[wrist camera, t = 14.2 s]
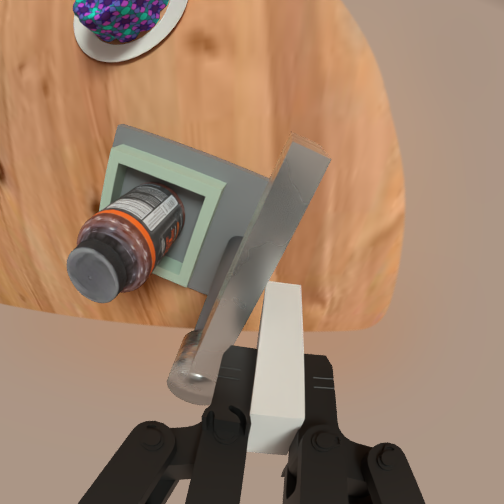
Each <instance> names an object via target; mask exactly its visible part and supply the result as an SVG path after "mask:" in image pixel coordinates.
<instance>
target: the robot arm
mask: <svg viewBox="0 0 504 504" xmlns="http://www.w3.org/2000/svg"><path fill="white" fill-rule="evenodd" d="M303 347H304V345H303V319H302V298H301V285H295V284H287V283H279V282H272V281H268V283H267V285H266V287H265V294H264V300H263V307H262V313H261V320H260V326H259V334H258V342H257V349H253V348H247V347H239V346H233V345H231V346H230V347H229V348H228V349H227V350H226V351H225V352H224V354H223V356H222V360H221V364H220V368H219V372H218V377H217V381H216V385H215V389H214V393H213V398H212V402H211V405H210V406H209V407H208V408H206V409H205V411H204V413H203V415H202V422H200V423H198V424H196V425H194V426H190V427H181V428H169V427H168V426H166V425H165V424H163V423H160V422H157V421H146V422H143V423H140V424H138V425H137V426H136V427H135V428H134V429H133V430H132V431H131V433H130V434H129V435H128V437H127V438H126V440H125V441H124V442H123V444H122V445H121V446H120V448H119V449H118V451H117V452H116V453H115V454H114V456H113V457H112V458H111V460H110V461H109V462H108V464H107V465H106V466H105V468H104V469H103V471H102V472H101V473H100V475H99V476H98V477H97V479H96V480H95V481H94V483H93V484H92V485H91V487H90V488H89V489H88V491H87V492H86V493H85V495H84V496H83V497H82V499H81V500H80V501H79V503H78V504H165V503H166V502H167V500H168V498H169V497H170V495H171V493H172V492H173V490H174V488H175V487H176V485H177V483H178V482H179V480H181V479H191V481H190V485H189V489H188V494H187V498H186V502H185V504H239V503H240V496H241V489H242V482H243V475H244V468H245V460H246V452H247V451H249V452H258V453H267V454H278V455H287V453H288V451H289V457H288V463H287V465H286V467H285V468H284V470H283V472H282V475H281V477H284V476H285V478H284V492H283V493H284V494H283V504H425V502H424V499H423V497H422V494H421V492H420V489H419V487H418V485H417V482H416V480H415V477H414V475H413V473H412V470H411V468H410V466H409V463H408V461H407V459H406V457H405V454H404V453H403V451H402V450H401V448H399V447H398V446H396V445H395V444H391V443H380V444H378V445H376V446H374V447H369V446H365V445H362V444H358V443H355V442H352V441H350V440H349V439H347V438H346V437H345V436H344V435H343V434H342V433H341V431H340V429H339V427H338V422H337V411H336V399H335V390H334V381H333V369H332V365H331V364H330V362H329V360H328V359H327V357H326V356H323V355H312V354H304V348H303Z"/></svg>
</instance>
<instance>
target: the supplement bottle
mask: <svg viewBox="0 0 504 504" xmlns="http://www.w3.org/2000/svg"><path fill="white" fill-rule="evenodd" d="M184 222H185V211H184V206H183V203H182V201H181V199H180V198H179V196H178V195H177V194H176V193H175V192H174V191H173V190H172V189H171V188H170V187H168V186H166V185H164V184H161V183H157V182H146V183H143V184H140V185H139V186H137V187H135V188H133V189H132V190H130V191H129V192H127V193H125V194H124V195H122V196H121V197H119V198H118V199H116V200H115V201H113V202H112V203H111V204H109V205H108V206H106V207H105V208H103V209H102V210H101V211H99V212H98V213H96V214H95V215H94V216H92V217H91V218H90V219H89V220H87V221H86V222H85V224H84V225H83V226H82V228H81V230H80V232H79V235H78V238H77V247H76V248H75V249H74V250H73V251H72V252H71V253H70V255H69V257H68V259H67V271H68V275H69V277H70V280H71V281H72V283H73V285H74V286H75V288H76V289H77V290H78V291H79V292H80V293H81V294H82V295H83V296H85V297H86V298H88V299H90V300H92V301H94V302H98V303H107V302H110V301H112V300H113V299H114V298H115V297H116V296H117V295H118V294H119V293H120V292H121V293H122V292H130V291H133V290H135V289H137V288H139V287H140V286H141V285H142V284H143V283H144V282H145V281H146V280H147V279H148V277H149V276H150V275H151V273H152V272H153V271H154V269H155V267H156V266H157V265H158V264H159V262H160V260H161V259H162V258H163V256H164V255H165V253H166V252H167V251H168V249H169V248H170V247H171V245H172V244H173V243H174V241H175V240H176V239H177V237H178V236H179V235H180V233H181V231H182V229H183V226H184Z"/></svg>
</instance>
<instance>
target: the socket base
mask: <svg viewBox="0 0 504 504" xmlns="http://www.w3.org/2000/svg"><path fill="white" fill-rule="evenodd" d="M268 181H269V178H267V177H264V176H262V175H260V174H257V173H255V172H253V171H250V170H248V169H245V168H243V167H240V166H238V165H235V164H233V163H230V162H228V161H225V160H223V159H220V158H218V157H215V156H213V155H210V154H207V153H205V152H202V151H200V150H197V149H194V148H192V147H189V146H186V145H183V144H181V143H178V142H175V141H172V140H170V139H167V138H164V137H161V136H158V135H155V134H152V133H149V132H146V131H143V130H140V129H137V128H134V127H131V126H128V125H125V124H121V125H118V127H117V131H116V134H115V138H114V142H113V147H112V148H111V152H110V157H109V161H108V166H107V170H106V175H105V180H104V186H103V191H102V197H101V203H100V209H99V211H101V210H102V209H103V208H105V207H106V206H108V205H109V204H111V203H112V202H113V201H115V200H116V199H118V198H119V197H121V196H122V195H124V194H125V193H127V192H129V191H130V190H132V189H133V188H135V187H137V186H139V185H140V184H143V183H146V182H157V183H161V184H164V185H166V186H168V187H170V188H171V189H172V190H173V191H174V192H175V193H176V194H177V195H178V196H179V198H180V199H181V201H182V203H183V206H184V211H185V222H184V226H183V229H182V231H181V233H180V235H179V236H178V237H177V239H176V240H175V241H174V243H173V244H172V245H171V247H170V248H169V249H168V251H167V252H166V253H165V255H164V256H163V258H162V259H161V260H160V262H159V264H158V265H157V266H156V267H155V269H154V271H153V272H152V273H153V274H156V275H158V276H160V277H162V278H165V279H167V280H169V281H172V282H174V283H176V284H179V285H181V286H184V287H189V288H191V289H193V290H196V291H198V292H201V293H203V294H206V295H207V298H206V300H205V303H204V306H203V308H202V311H201V314H200V316H199V319H198V322H197V324H196V327H195V330H203V328H204V326H205V324H206V321H207V319H208V317H209V314H210V312H211V310H212V308H213V305H214V303H215V301H216V298H217V296H218V294H219V291H220V289H221V287H222V284H223V282H224V280H225V278H226V275H227V273H228V271H229V268H230V266H231V264H232V262H233V259H234V257H235V255H236V252H237V250H238V248H239V246H240V243H241V241H242V239H243V237H244V234H245V232H246V230H247V228H248V225H249V223H250V221H251V219H252V216H253V214H254V212H255V210H256V207H257V205H258V203H259V201H260V198H261V196H262V194H263V192H264V189H265V187H266V185H267V183H268ZM195 330H194V331H195Z"/></svg>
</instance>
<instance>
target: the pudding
mask: <svg viewBox="0 0 504 504" xmlns="http://www.w3.org/2000/svg"><path fill="white" fill-rule="evenodd" d="M168 1H169V0H76V1H75V3H74V4H73V11H74V14H75V15H74V34H75V37H76V41H77V43H78V44H79V46H80V48H81V49H82V50H83V51H84V52H85V53H86V54H87V55H88V56H90V57H91V58H94V59H96V60H98V61H103V62H120V61H125V60H129V59H131V58H134V57H137V56H139V55H141V54H143V53H145V52H147V51H148V50H150V49H151V48H153V47H154V46H155V45H157V44H158V43H159V42H160V41H161V40H163V39H164V38H165V37H166V36H167V35H168V34H169V33H170V31H171V30H172V29H173V28H174V27H175V25H176V24H177V22H178V21H179V19H180V18H181V16H182V14H183V11H184V9H185V7H186V4H187V0H170V2H169V6H168V8H167V10H166V13H165V14H164V16H163V17H162V19H161V20H160V22H159V23H158V24H157V25H156V23H157V22H158V20H159V19H160V11H161V10H162V9H163V8H164V7H166V6H167V4H168ZM155 25H156V26H155ZM154 26H155V27H154ZM152 27H154V28H153V29H152V30H151V31H150V32H148V33H147V34H146V35H144V36H143V37H141V38H139V39H137V40H135V41H133V42H130V41H132V40H134V39H135V38H136V37H137V36H138V34H139V33H140V32H141V31H147V30H150V29H151V28H152ZM95 34H96V35H97V36H98V37H100V38H101V39H102V40H103V41H107V42H111V41H113V40H115V39H118V40H119V41H120V42H122V43H123V42H130V43H127V44H122V45H113V44H108V43H105V42H103V41H101V40H100V39H98V37H97V36H96V35H95Z"/></svg>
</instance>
